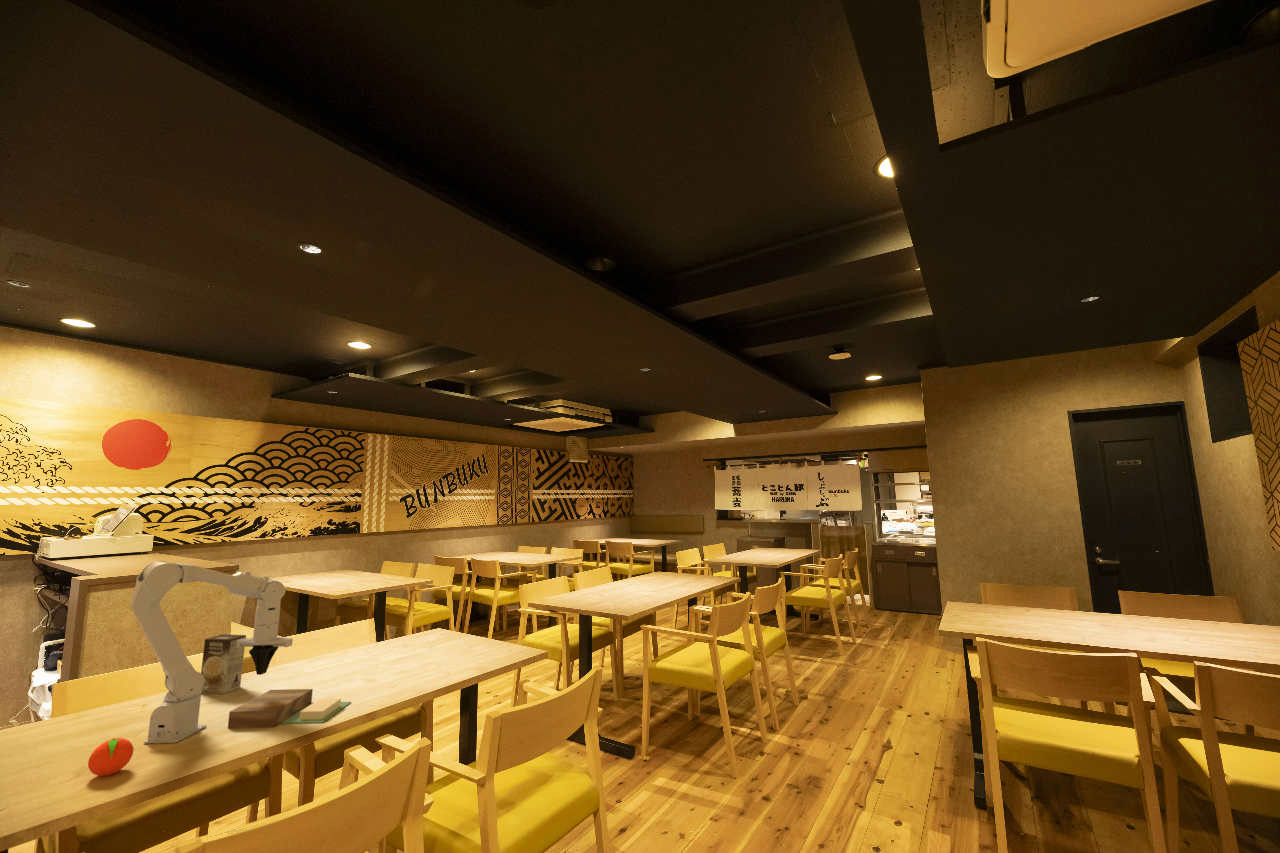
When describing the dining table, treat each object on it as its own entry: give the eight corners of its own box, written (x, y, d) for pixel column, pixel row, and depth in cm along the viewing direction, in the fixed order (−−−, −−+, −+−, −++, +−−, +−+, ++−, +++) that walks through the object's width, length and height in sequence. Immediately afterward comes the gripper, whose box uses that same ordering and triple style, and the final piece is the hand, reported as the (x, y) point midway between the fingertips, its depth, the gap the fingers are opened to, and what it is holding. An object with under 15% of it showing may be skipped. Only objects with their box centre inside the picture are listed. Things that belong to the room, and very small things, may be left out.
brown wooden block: (274, 727, 134) (276, 710, 135) (227, 728, 134) (229, 711, 135) (311, 703, 150) (312, 688, 151) (269, 704, 150) (270, 689, 150)
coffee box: (196, 693, 159) (203, 638, 162) (215, 686, 166) (221, 633, 168) (224, 694, 158) (229, 639, 161) (241, 686, 165) (247, 634, 167)
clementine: (131, 775, 111) (135, 740, 112) (84, 788, 106) (89, 750, 107) (131, 762, 116) (135, 728, 117) (86, 774, 111) (91, 738, 113)
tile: (299, 711, 139) (299, 719, 138) (322, 711, 139) (321, 719, 138) (319, 699, 147) (318, 706, 147) (340, 698, 148) (340, 706, 147)
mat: (323, 722, 137) (323, 721, 137) (280, 723, 136) (281, 722, 136) (350, 702, 151) (350, 701, 151) (312, 703, 150) (312, 702, 150)
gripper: (301, 620, 152) (296, 668, 150) (251, 620, 151) (246, 669, 149) (285, 625, 145) (280, 676, 143) (233, 625, 144) (227, 677, 142)
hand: (261, 673), depth 145 cm, fingers closed
